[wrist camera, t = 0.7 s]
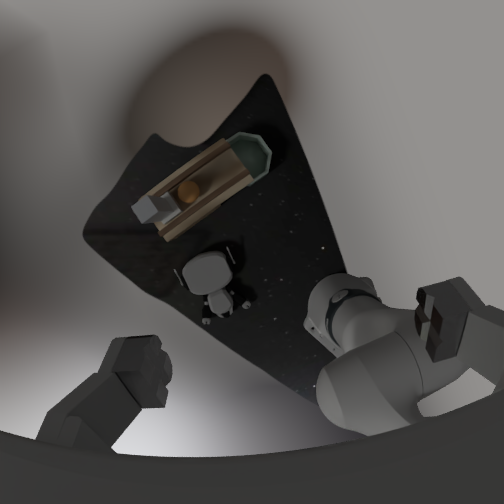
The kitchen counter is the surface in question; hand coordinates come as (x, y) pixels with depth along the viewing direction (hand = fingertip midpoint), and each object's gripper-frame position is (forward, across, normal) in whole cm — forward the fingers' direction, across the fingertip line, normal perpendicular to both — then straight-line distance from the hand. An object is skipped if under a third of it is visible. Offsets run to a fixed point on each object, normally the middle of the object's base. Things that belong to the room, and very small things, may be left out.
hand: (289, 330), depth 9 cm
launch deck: (+59, -15, -12) cm, 62 cm away
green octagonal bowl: (+62, -5, -8) cm, 63 cm away
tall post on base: (+49, -20, -11) cm, 54 cm away
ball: (+48, -15, -8) cm, 51 cm away
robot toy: (+52, -16, -31) cm, 63 cm away
